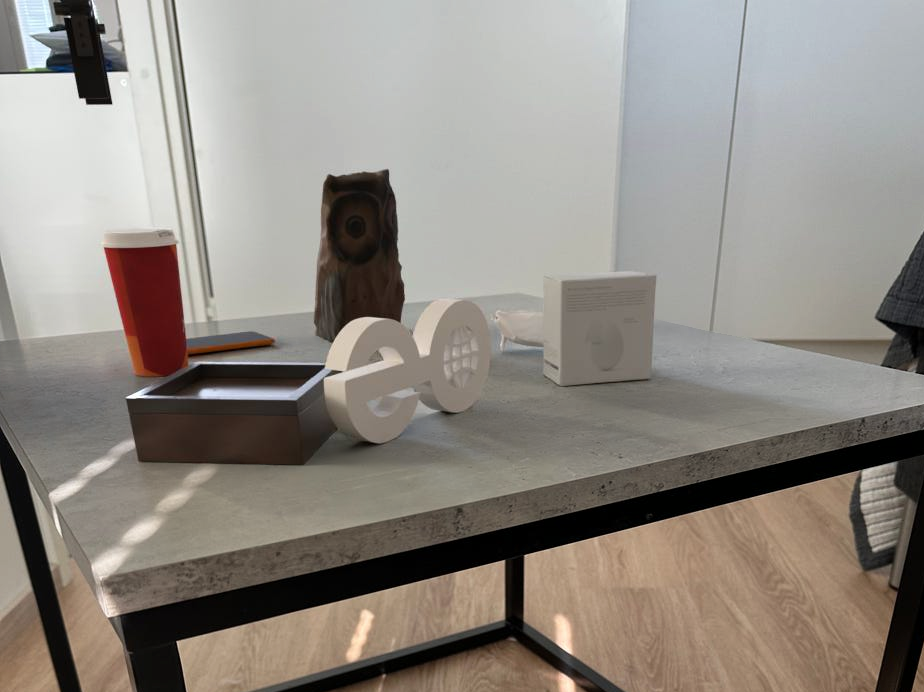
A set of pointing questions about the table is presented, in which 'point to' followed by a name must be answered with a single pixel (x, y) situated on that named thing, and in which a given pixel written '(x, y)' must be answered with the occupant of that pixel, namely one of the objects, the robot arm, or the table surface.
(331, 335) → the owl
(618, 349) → the cosmetics box
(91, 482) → the table surface
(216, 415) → the dark brown tray
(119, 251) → the coffee cup
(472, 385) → the letter
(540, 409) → the table surface
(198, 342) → the smartphone
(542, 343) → the pale pink animal figure
